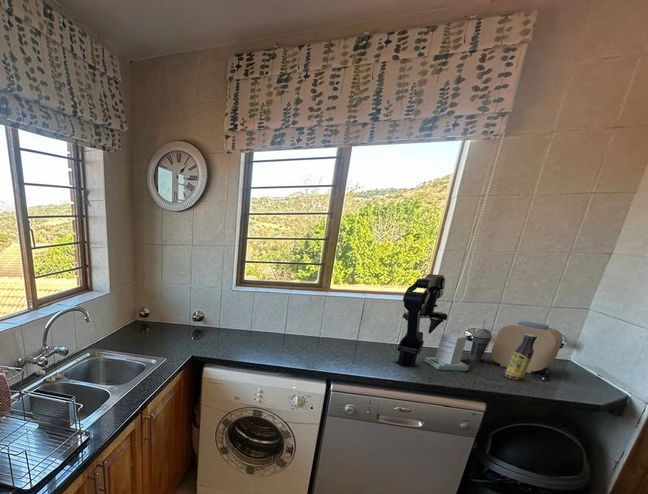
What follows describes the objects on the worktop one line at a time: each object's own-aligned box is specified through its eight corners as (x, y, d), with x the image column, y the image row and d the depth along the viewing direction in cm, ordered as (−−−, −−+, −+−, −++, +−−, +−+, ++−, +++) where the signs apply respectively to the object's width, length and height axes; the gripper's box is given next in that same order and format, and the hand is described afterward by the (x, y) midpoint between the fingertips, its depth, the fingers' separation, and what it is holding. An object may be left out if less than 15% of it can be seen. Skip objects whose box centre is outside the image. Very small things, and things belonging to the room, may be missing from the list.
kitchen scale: (438, 369, 186) (439, 364, 185) (424, 361, 197) (425, 356, 196) (468, 370, 185) (469, 365, 184) (452, 362, 196) (453, 357, 195)
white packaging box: (444, 357, 195) (451, 332, 190) (460, 362, 188) (468, 336, 184) (434, 359, 192) (441, 333, 187) (450, 364, 186) (458, 337, 181)
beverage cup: (487, 362, 196) (500, 322, 189) (470, 361, 197) (483, 321, 190) (479, 357, 203) (491, 318, 195) (462, 356, 204) (474, 318, 197)
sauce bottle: (500, 375, 179) (515, 332, 172) (513, 375, 180) (529, 332, 173) (513, 381, 173) (530, 337, 166) (527, 380, 174) (544, 336, 167)
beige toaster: (550, 373, 183) (568, 326, 175) (542, 377, 178) (561, 329, 170) (495, 360, 199) (510, 317, 191) (487, 363, 194) (502, 319, 187)
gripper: (434, 298, 198) (426, 328, 204) (399, 298, 197) (391, 329, 203) (452, 302, 188) (443, 334, 194) (414, 303, 187) (406, 335, 192)
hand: (420, 333), depth 196 cm, fingers open, 9 cm apart
